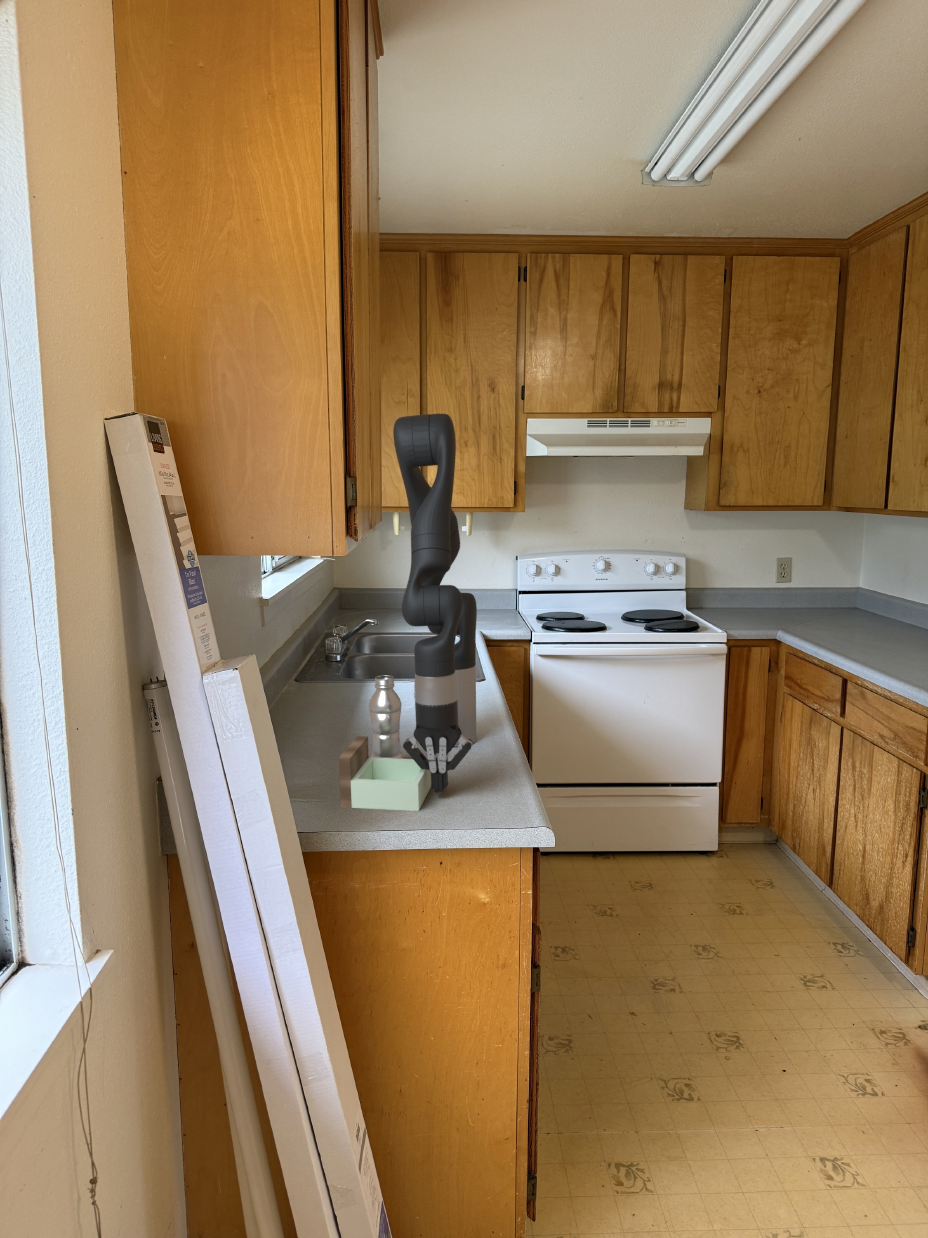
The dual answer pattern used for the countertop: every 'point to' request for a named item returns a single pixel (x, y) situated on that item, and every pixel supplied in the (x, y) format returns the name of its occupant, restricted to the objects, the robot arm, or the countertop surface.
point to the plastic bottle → (385, 719)
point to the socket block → (390, 785)
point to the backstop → (351, 767)
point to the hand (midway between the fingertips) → (439, 790)
